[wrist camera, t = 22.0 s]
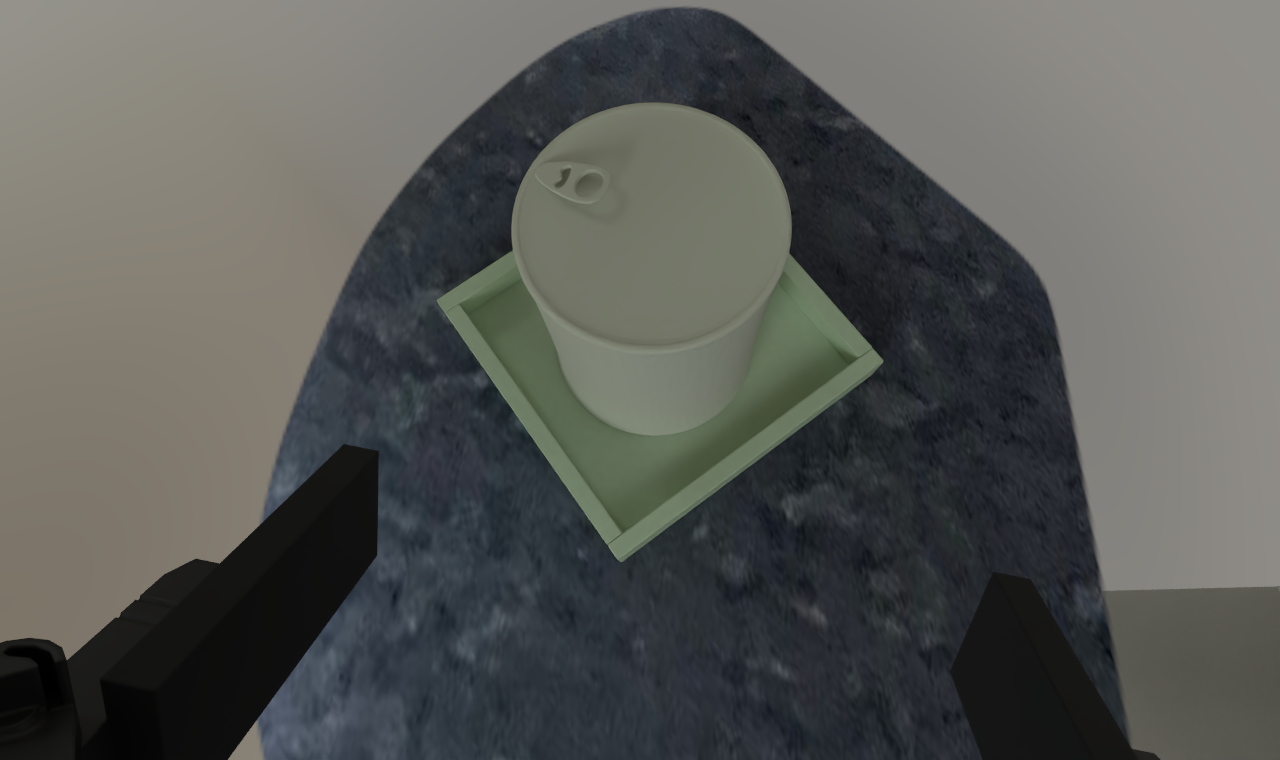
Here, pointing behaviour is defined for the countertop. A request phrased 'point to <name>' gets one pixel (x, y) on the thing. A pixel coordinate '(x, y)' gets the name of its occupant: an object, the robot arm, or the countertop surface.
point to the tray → (666, 464)
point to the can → (652, 260)
